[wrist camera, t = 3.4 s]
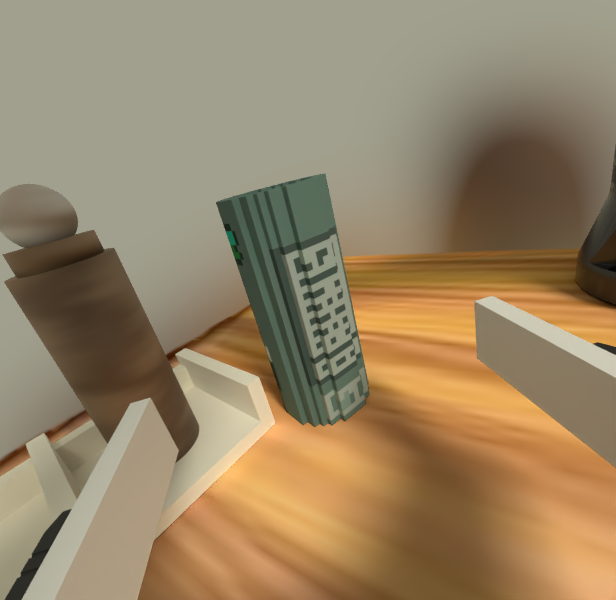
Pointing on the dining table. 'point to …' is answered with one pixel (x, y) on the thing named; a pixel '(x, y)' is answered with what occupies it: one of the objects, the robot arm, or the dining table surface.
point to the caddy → (90, 444)
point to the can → (299, 296)
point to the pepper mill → (89, 314)
